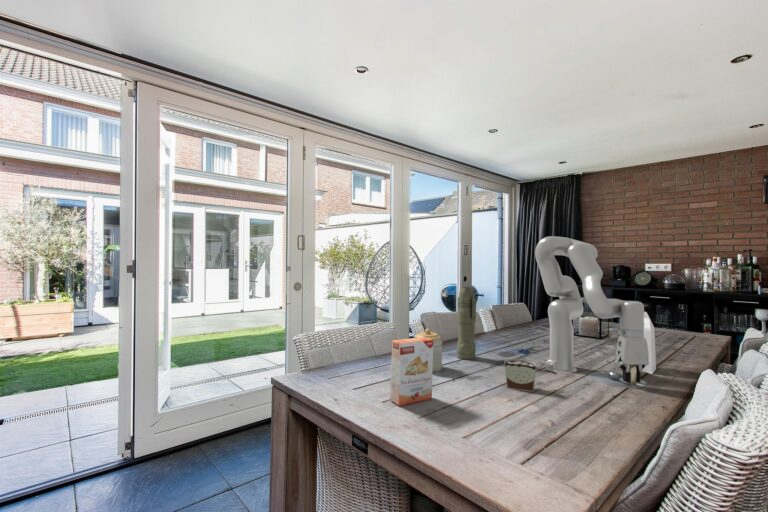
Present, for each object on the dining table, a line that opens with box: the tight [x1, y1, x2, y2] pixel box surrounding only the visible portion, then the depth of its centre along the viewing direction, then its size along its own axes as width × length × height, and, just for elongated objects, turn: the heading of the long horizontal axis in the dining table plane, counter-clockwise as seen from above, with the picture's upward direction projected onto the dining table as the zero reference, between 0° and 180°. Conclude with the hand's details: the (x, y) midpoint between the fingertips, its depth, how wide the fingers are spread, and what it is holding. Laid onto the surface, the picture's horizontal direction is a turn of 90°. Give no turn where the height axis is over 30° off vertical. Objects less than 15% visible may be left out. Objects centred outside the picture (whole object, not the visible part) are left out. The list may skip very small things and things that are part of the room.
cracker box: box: [390, 337, 433, 407], centre depth 127 cm, size 14×6×21 cm, turn 121°
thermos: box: [456, 286, 477, 361], centre depth 184 cm, size 9×12×35 cm
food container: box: [502, 358, 539, 392], centre depth 142 cm, size 12×6×10 cm, turn 65°
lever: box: [607, 365, 637, 386], centre depth 146 cm, size 13×6×8 cm, turn 5°
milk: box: [620, 311, 657, 375], centre depth 169 cm, size 12×12×26 cm
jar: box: [414, 328, 443, 373], centre depth 165 cm, size 13×13×18 cm
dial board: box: [588, 371, 648, 389], centre depth 149 cm, size 20×20×1 cm
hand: (631, 381), depth 141 cm, fingers closed on lever, 3 cm apart
